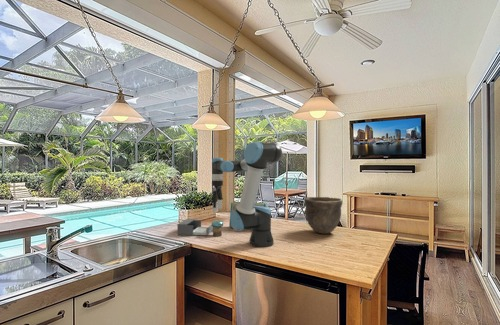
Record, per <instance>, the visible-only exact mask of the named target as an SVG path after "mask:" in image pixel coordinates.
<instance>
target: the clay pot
mask: <svg viewBox="0 0 500 325" xmlns="http://www.w3.org/2000/svg"><path fill="white" fill-rule="evenodd" d="M304 205H305V211H304V214H305V215H304V216H305V219H306V222H307V224H308V225H309V227H310V228H311V229H312V230H313V231H314V232H315V233H319V234H322V235H326V234H330V233H331V232H333V231H335V229H336V228H337V226H338V224H339V223H340V221H341V218H342V206H343V199H341V198H339V197H338V198H337V197H329V196H325V197H324V196H323V197H322V196H311V197H310V196H307V197H305V199H304Z"/></svg>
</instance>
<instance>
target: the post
mask: <svg viewBox="0 0 500 325" xmlns="http://www.w3.org/2000/svg"><path fill="white" fill-rule="evenodd" d="M222 228H223V226H220V227H214V226H213V231H212V237H215V238H216V237H217V238H218V237H222V234H223V233H222V232H223V229H222Z"/></svg>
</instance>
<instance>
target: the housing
mask: <svg viewBox="0 0 500 325" xmlns="http://www.w3.org/2000/svg"><path fill="white" fill-rule="evenodd" d="M197 227H202V220H201V219H195V218H186V219H184V220H182V221H180V222H178V223H177V230H176V231H177V232H176V233H177V236H184V237H185V236H186V237H196V236H197V235H193V230H195V229H196V228H197Z"/></svg>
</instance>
